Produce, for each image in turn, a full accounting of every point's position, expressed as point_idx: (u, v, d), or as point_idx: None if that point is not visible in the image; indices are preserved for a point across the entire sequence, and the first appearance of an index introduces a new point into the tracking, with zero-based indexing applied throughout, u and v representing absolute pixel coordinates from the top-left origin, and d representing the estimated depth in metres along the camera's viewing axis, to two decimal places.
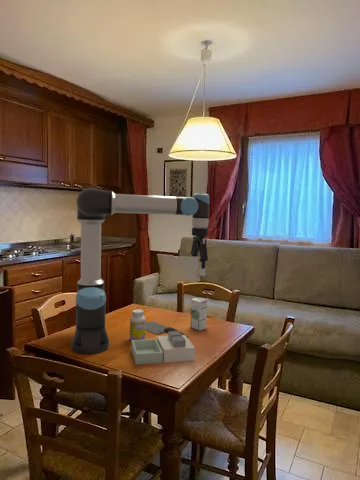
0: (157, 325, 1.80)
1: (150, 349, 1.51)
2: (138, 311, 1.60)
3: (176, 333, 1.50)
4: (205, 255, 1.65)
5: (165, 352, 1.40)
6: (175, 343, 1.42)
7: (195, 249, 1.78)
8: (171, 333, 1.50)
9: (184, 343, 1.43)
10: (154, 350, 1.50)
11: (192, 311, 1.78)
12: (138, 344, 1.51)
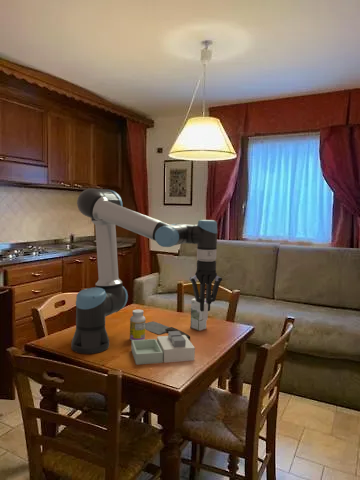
0: (158, 325, 1.80)
1: (150, 349, 1.51)
2: (138, 311, 1.60)
3: (176, 333, 1.50)
4: (195, 296, 1.44)
5: (165, 352, 1.40)
6: (175, 343, 1.42)
7: (206, 289, 1.46)
8: (171, 333, 1.50)
9: (184, 343, 1.43)
10: (154, 350, 1.50)
11: (192, 311, 1.78)
12: (138, 344, 1.51)
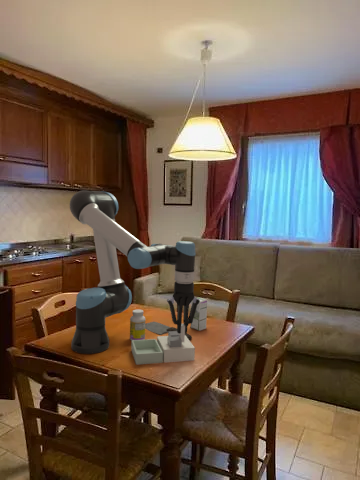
0: (159, 325, 1.80)
1: (150, 349, 1.51)
2: (138, 311, 1.60)
3: (176, 333, 1.50)
4: (172, 318, 1.43)
5: (165, 352, 1.40)
6: (171, 343, 1.42)
7: (184, 311, 1.45)
8: (171, 333, 1.50)
9: (180, 343, 1.43)
10: (154, 350, 1.50)
11: None
12: (138, 344, 1.51)
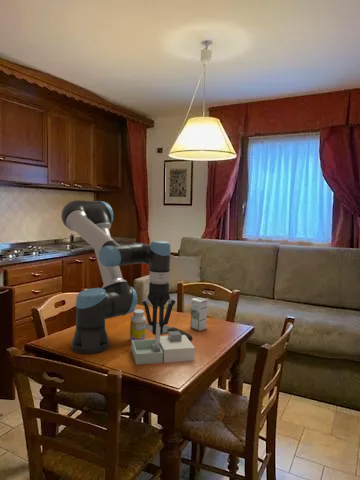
0: None
1: (150, 349, 1.51)
2: (139, 311, 1.60)
3: (176, 333, 1.50)
4: (147, 319, 1.41)
5: (165, 352, 1.40)
6: None
7: (159, 311, 1.43)
8: (171, 333, 1.50)
9: (156, 349, 1.41)
10: None
11: (192, 311, 1.78)
12: (138, 344, 1.51)
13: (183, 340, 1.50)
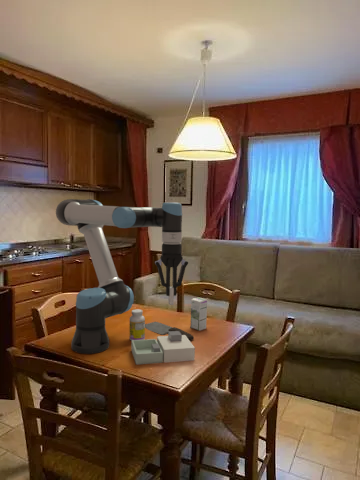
0: (161, 325, 1.80)
1: (150, 349, 1.51)
2: (137, 311, 1.60)
3: (176, 333, 1.50)
4: (161, 281, 1.42)
5: (165, 352, 1.40)
6: None
7: None
8: (171, 333, 1.50)
9: (156, 349, 1.41)
10: None
11: (192, 311, 1.78)
12: (138, 344, 1.51)
13: (183, 340, 1.50)
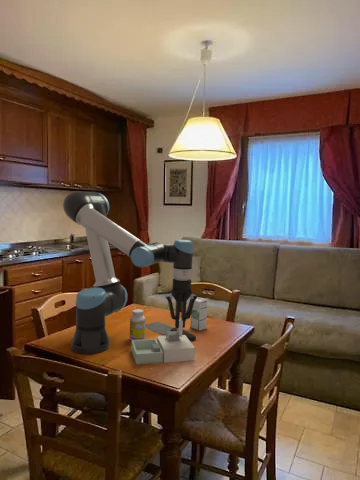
0: (163, 325, 1.79)
1: (150, 349, 1.51)
2: (138, 311, 1.61)
3: (174, 333, 1.50)
4: (171, 314, 1.49)
5: (165, 352, 1.40)
6: None
7: (182, 306, 1.51)
8: (169, 333, 1.50)
9: (156, 349, 1.41)
10: None
11: (192, 311, 1.78)
12: (138, 344, 1.51)
13: (183, 340, 1.50)
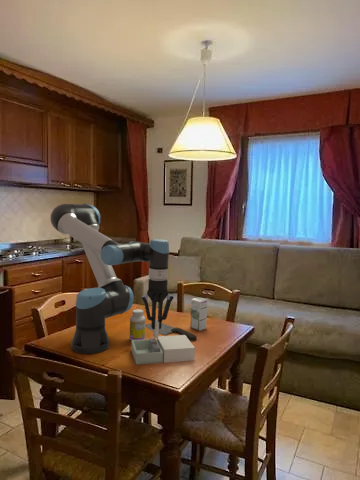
0: (163, 325, 1.79)
1: None
2: (138, 311, 1.61)
3: (150, 345, 1.48)
4: (147, 315, 1.47)
5: (165, 352, 1.40)
6: None
7: (158, 307, 1.49)
8: (149, 349, 1.48)
9: (156, 349, 1.41)
10: None
11: (192, 311, 1.78)
12: (138, 344, 1.51)
13: (183, 340, 1.50)
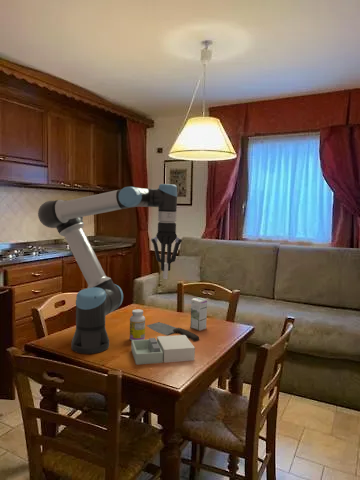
0: (165, 326, 1.79)
1: None
2: (138, 311, 1.61)
3: (150, 345, 1.48)
4: (156, 256, 1.53)
5: (165, 352, 1.40)
6: None
7: (167, 250, 1.55)
8: (149, 349, 1.48)
9: (156, 349, 1.41)
10: None
11: (192, 311, 1.78)
12: (138, 344, 1.51)
13: (183, 340, 1.50)
